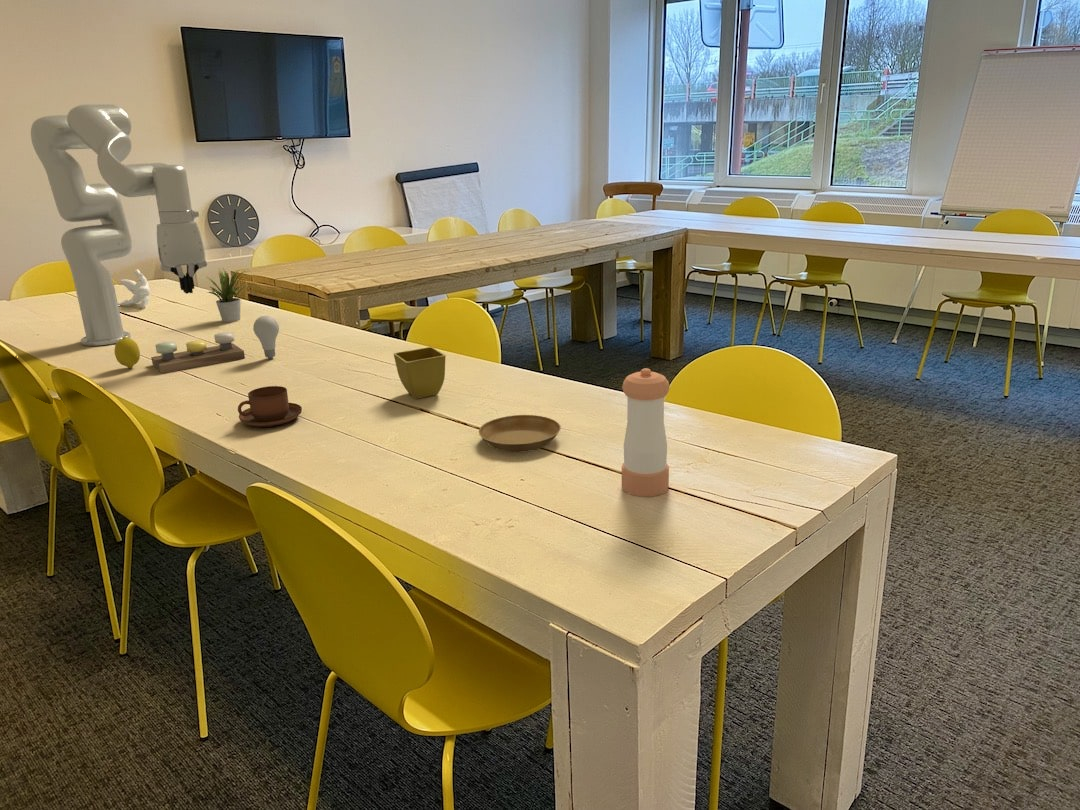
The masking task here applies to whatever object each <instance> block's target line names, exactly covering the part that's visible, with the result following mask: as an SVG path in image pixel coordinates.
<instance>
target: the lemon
mask: <svg viewBox="0 0 1080 810" xmlns="http://www.w3.org/2000/svg"><path fill="white" fill-rule="evenodd" d="M114 356H115V358H116V361H117V362H118V363H119V364H120V365H122V366H124V367H126V368H128V369H132V368H133V366H135V365H136V364H137V363H138V362H139V361H140V358H141V351H140V348H139V346H138V343H137V342H136V341H135V340H134V339H132V338H126V337H123V338H122V339H120V340H119V341H118V342H117V343H115V345H114Z"/></svg>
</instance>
